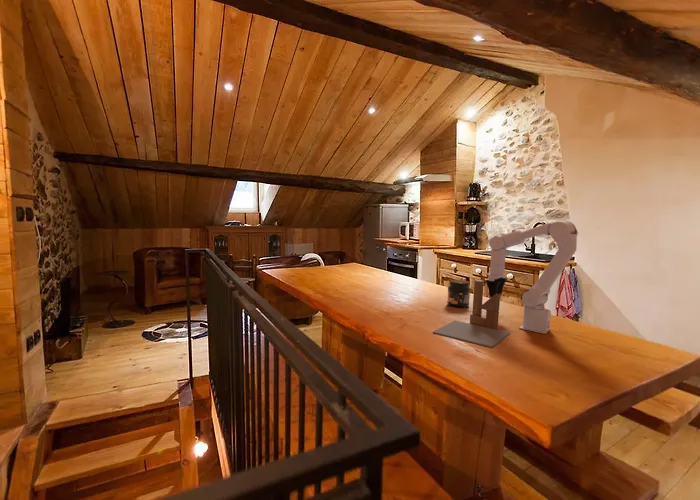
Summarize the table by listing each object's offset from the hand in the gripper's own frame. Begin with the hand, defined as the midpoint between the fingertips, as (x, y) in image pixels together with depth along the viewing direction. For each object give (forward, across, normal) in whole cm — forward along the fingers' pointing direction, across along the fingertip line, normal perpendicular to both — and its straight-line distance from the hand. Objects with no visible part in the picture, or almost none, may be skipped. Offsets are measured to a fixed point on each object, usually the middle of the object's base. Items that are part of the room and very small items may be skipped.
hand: (495, 295), depth 158 cm
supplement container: (+10, -11, -21) cm, 26 cm away
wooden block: (+11, +13, 0) cm, 17 cm away
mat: (+10, +26, 0) cm, 28 cm away
